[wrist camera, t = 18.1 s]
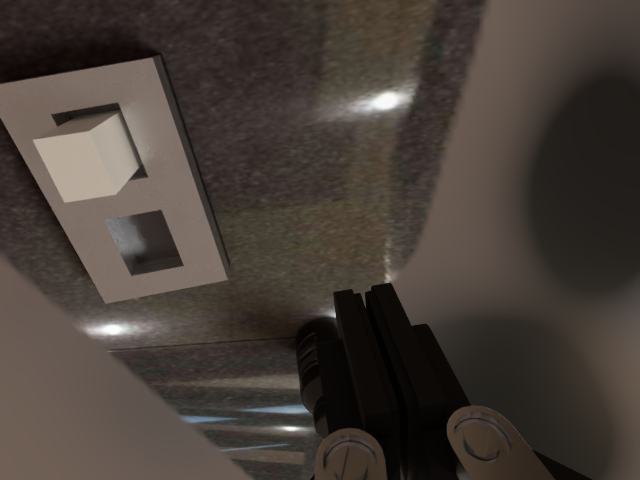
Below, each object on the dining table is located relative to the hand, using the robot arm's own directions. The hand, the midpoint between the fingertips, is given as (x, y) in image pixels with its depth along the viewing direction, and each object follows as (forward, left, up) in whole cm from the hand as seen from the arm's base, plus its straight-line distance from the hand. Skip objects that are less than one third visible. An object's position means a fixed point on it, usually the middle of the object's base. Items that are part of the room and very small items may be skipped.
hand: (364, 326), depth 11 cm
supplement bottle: (+26, -2, -26) cm, 37 cm away
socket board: (+3, -16, -26) cm, 31 cm away
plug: (-1, -16, -25) cm, 30 cm away
